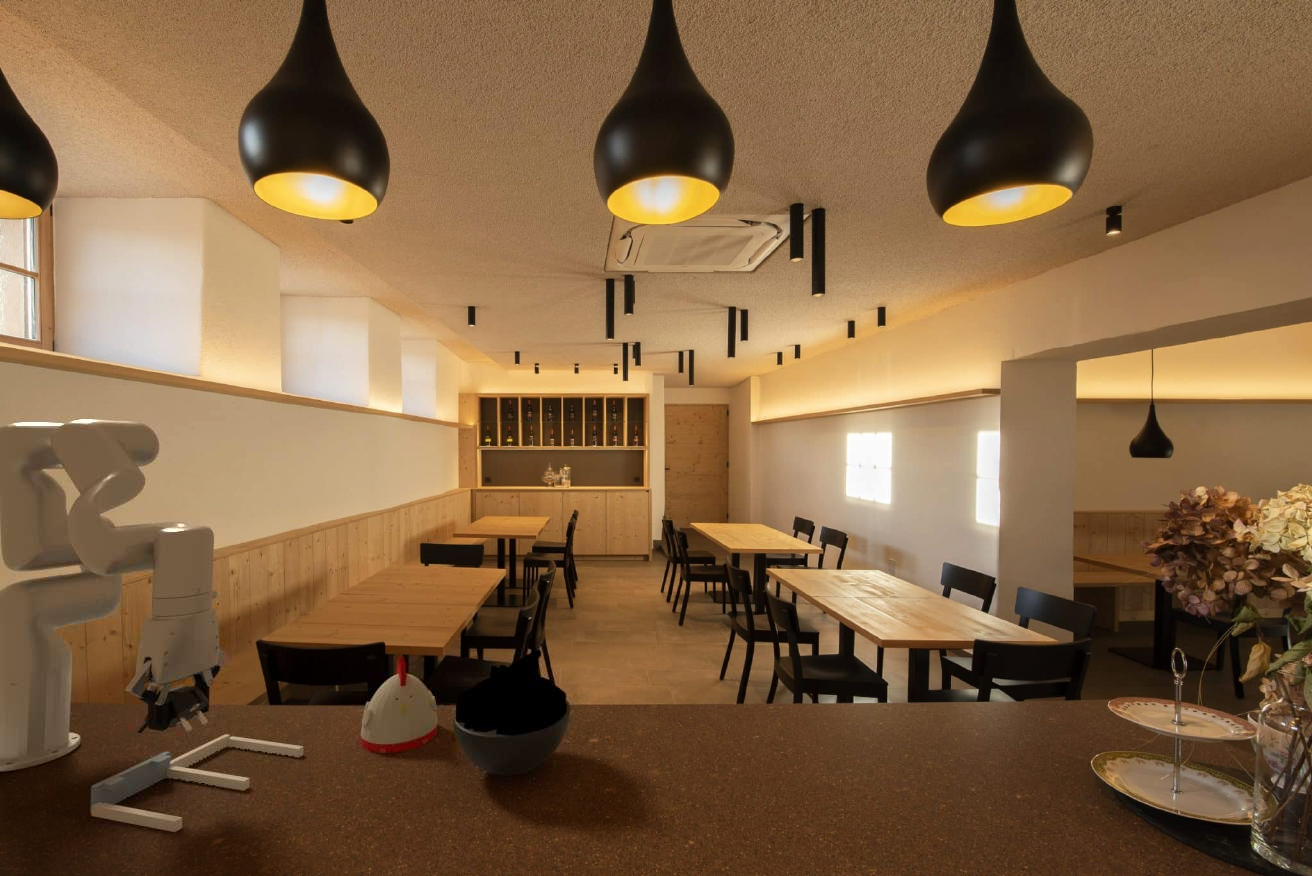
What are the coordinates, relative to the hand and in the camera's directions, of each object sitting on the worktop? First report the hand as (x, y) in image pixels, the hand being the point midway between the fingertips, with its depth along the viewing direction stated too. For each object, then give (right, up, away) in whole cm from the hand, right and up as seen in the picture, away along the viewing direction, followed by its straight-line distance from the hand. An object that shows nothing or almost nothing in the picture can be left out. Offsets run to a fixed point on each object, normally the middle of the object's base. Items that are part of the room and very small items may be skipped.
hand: (179, 719), depth 94 cm
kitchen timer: (+25, -14, +22) cm, 36 cm away
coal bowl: (+50, -14, +10) cm, 53 cm away
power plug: (-2, -2, 0) cm, 3 cm away
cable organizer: (+1, -13, +5) cm, 14 cm away
